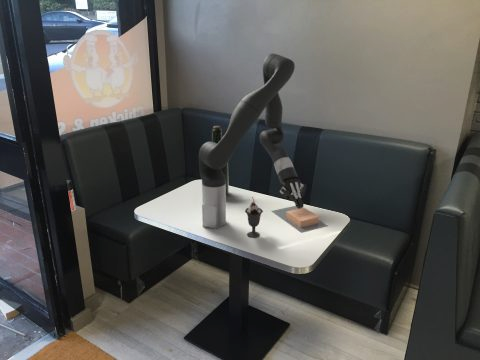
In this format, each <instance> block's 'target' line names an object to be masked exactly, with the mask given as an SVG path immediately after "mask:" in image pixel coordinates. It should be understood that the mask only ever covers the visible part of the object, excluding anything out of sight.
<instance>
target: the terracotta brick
mask: <svg viewBox="0 0 480 360" xmlns="http://www.w3.org/2000/svg"><path fill="white" fill-rule="evenodd" d="M286 218H287V219H288V220H290V221H291V222H293V223H294V224H296V225H297V226H298V227H300V228H301V227H305V226H309V225H313V224H317V223H319V220H320V216H319V215H318V214H315V213H314V212H312V211H310V210H309V209H307V208H305V207H302V208H300V209H296V210H291V211H287V212H286Z"/></svg>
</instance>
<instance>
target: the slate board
mask: <svg viewBox="0 0 480 360" xmlns="http://www.w3.org/2000/svg"><path fill="white" fill-rule="evenodd" d="M296 209H298V208H297V207H296V205H292V206H287V207H284V208H278V209H274V210H271V213H273V214H274V215H276V216H277V217H279V218H280V219H281V220H283V221H284V222H286V224H288V225H290V226H291V227H293V228H294V229H295V230H297V231H298V232H299V233H302V234H303V233H306V232H310V231H314V230H318V229H322V228H325V227H328V226H329V225H328V224H326V223H325V222H323V221H321V220H320V219H319V223H317V224H313V225H309V226H305V227H301V228H300V227H298V226H297V225H296V224H294V223H293V222H291V221H290V220H288V219H287V218H286V212H287V211H291V210H296Z"/></svg>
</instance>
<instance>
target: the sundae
mask: <svg viewBox="0 0 480 360" xmlns="http://www.w3.org/2000/svg"><path fill="white" fill-rule="evenodd" d="M251 199H253V200H252V202H251V204H250V205H249V207H246V209H245V210H244V212H245V213H246V215H247V221H248V225H249V226H250V227H251V231H249V232H248V233H247V234H246V236H247V237H248V238H251V239H256V238H259V237H260V236H261V233H260V232H258V231H256V227H258V226H259V224H260V221H261V215H262V213H264V210H263V209H262V208H261V207H259V206H258V205H257V204H256V202H255V199H254V196H252V197H251Z"/></svg>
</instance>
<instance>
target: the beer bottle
mask: <svg viewBox="0 0 480 360" xmlns="http://www.w3.org/2000/svg"><path fill="white" fill-rule="evenodd" d="M222 131H223V130H222V128H221V126H220V125H214V126H213V127H212V130H211V142H215V143H218V142H219V141H220V140H221V139H222V137H223V136H222V133H223V132H222ZM221 169H222V172H223V174H224V175H225V178H226V197H227V196H228V195H229V193H230V192H229V188H230V187H229V183H230V182H229V162H228V163H227V164H226V165H225V166H224V167H223V168H221Z"/></svg>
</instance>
